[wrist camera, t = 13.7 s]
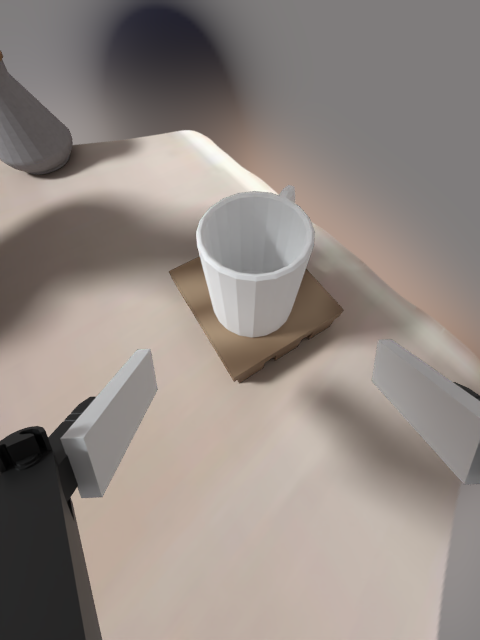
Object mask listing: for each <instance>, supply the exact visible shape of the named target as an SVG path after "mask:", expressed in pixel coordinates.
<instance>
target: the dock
mask: <svg viewBox="0 0 480 640" xmlns="http://www.w3.org/2000/svg"><path fill="white" fill-rule="evenodd" d="M169 273H170V275H171V277H172V279H173V281H174V283H175V284H176V286H177V288H178V289H179V291H180V293H181V294H182V296H183V298H184V299H185V301H186V303H187V304H188V306H189V308H190V309H191V311H192V313H193V314H194V316H195V318H196V319H197V321H198V323H199V324H200V326H201V327H202V329H203V331H204V332H205V334H206V336H207V337H208V339H209V341H210V342H211V344H212V346H213V347H214V349H215V351H216V352H217V354H218V356H219V357H220V359H221V361H222V362H223V364H224V366H225V367H226V369H227V371H228V372H229V374H230V376H231V377H232V379H233V381H234V382H235V381H236V380H238V382H239V383H240V382H242V381H244V380H245V379H247V378H248V377H250V376H251V375H253V374H255V373H256V372H258V371H259V370H261V369H263V368H264V363H265V362H267V361H268V360H270V359H271V358H274V360H277V359H279V358H280V357H282V356H283V355H285V354H287V353H288V352H290V351H291V350H293V349H294V348H296V347H298V345H299V343H300V341H301V340H302V339H304V338H305V337H307V338H308V340H309V339H310V338H312V337H314V336H315V335H317V334H318V333H320V332H322V331H323V330H325V329H326V328H328V327H329V326H330V325H331V324H332V322H333V321H334V320H335V319H336V318H337V317H339V316H340V314H341V313H342V312H343V309H342V307H341V306H340V305H339V304H338V303H337V302H336V301H335V300H334V299H333V298H332V297H331V295H330V294H329V293H328V292H327V291H326V290H325V289H324V288H323V287H322V286H321V284H320V283H319V282H318V281H317V280H316V279H315V278H314V277H313V276H312V275H311V274H310V272H309V271H308V270H307V269H306V270H305V273H304V276H303V278H302V281H301V284H300V287H299V290H298V293H297V296H296V299H295V302H294V305H293V307H292V310H291V313H290V315H289V317H288V319H287V321H286V322H285V323H284V324H283V325H282V326H281V327H280V328H279V329H278V330H276V331H274V332H272V333H270V334H268V335H266V336H260V337H246V336H239V335H237V334H235V333H233V332H231V331H229V330H227V329H226V328H225V327H224V326H223V325H222V324H221V323H220V322H219V320H218V318H217V316H216V315H215V313H214V310H213V306H212V302H211V298H210V294H209V290H208V286H207V282H206V278H205V275H204V271H203V267H202V263H201V259H200V256H199V257H197V258H195V259H193V260H191V261H189V262H187V263H185V264H183V265H181V266H179V267H177V268H175V269H173V270H171V271H169Z"/></svg>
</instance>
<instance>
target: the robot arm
mask: <svg viewBox="0 0 480 640" xmlns="http://www.w3.org/2000/svg"><path fill="white" fill-rule="evenodd" d="M372 382H373V383H374V384H375V385H376V386H377V388H378V389H379V390H380V391H381V392H382V393H383V394H384V395H385V397H386V398H387V399H388V400H389V401H390V402H391V403H392V404H393V405H394V407H395V408H396V409H397V410H398V411H399V412H400V413H401V414H402V416H403V417H404V418H405V419H406V420H407V421H408V422H409V423H410V424H411V426H412V427H413V428H414V429H415V430H416V431H417V432H418V433H419V435H420V436H421V437H422V438H423V439H424V440H425V441H426V442H427V444H428V445H429V446H430V447H431V448H432V449H433V450H434V451H435V452H436V454H437V455H438V456H439V457H440V458H441V459H442V460H443V461H444V463H445V464H446V465H447V466H448V467H449V468H450V469H451V470H452V471H453V473H454V474H455V475H456V476H457V477H458V478H459V479H460V480H461V482H462V483H463V484H480V396H479V395H478V394H476V393H475V392H473V391H472V390H470V389H469V388H467V387H464V386H462V385H460V384H458V383H456V382H452V381H450V380H449V379H448V378H446V377H445V376H443V375H442V374H440V373H439V372H438V371H436V370H435V369H433V368H432V367H430V366H429V365H428V364H426V363H425V362H423V361H422V360H420V359H419V358H418V357H416V356H415V355H413V354H412V353H410V352H409V351H408V350H406V349H405V348H403V347H402V346H400V345H399V344H398V343H396V342H395V341H393V340H392V339H385V340H378V344H377V350H376V356H375V363H374V369H373V376H372ZM157 390H158V388H157V383H156V377H155V371H154V366H153V360H152V354H151V349H137V350H136V352H135V353H134V354H133V355H132V356H131V357H130V359H129V360H128V361H127V362H126V363H125V364H124V365H123V367H122V368H121V369H120V370H119V371H118V372H117V374H116V375H115V376H114V377H113V378H112V379H111V381H110V382H109V383H108V384H107V385H106V386H105V388H104V389H103V390H102V391H101V392H100V393H99V394H98V396H97V397H89V398H88V399H86V400H85V401H83V402H82V403H80V404H79V405H78V406H77V407H76V408H75V409H74V410H73V411H72V412H71V414H70V415H69V416H68V417H67V418H66V419H65V421H64V422H62V423H61V424H60V425H59V427H58V428H57V429H56V430H55V431H54V432H53V433H52V434H51V435H50V436H49V437H47V434H46V431H45V430H44V428H43V427H39V426H34V427H28V428H25V429H21V430H19V431H17V432H14V433H12V434H10V435H9V436H7V437H6V438H4V439H3V440H1V441H0V640H102V637H101V632H100V628H99V623H98V618H97V614H96V609H95V604H94V600H93V595H92V591H91V586H90V581H89V577H88V572H87V568H86V563H85V558H84V554H83V549H82V545H81V540H80V535H79V531H78V526H77V521H76V517H75V512H74V508H73V503H72V501H71V498H70V497H71V496H72V494H73V492H74V491H75V489H76V488H77V487H78V490H79V493H80V495H81V498H94V497H103V495H104V493H105V491H106V489H107V487H108V485H109V483H110V481H111V479H112V477H113V475H114V473H115V471H116V470H117V468H118V466H119V464H120V462H121V460H122V458H123V456H124V454H125V452H126V450H127V448H128V446H129V444H130V442H131V440H132V438H133V436H134V435H135V433H136V431H137V429H138V427H139V425H140V423H141V421H142V419H143V417H144V415H145V413H146V411H147V409H148V407H149V405H150V403H151V401H152V400H153V398H154V396H155V394H156V392H157Z"/></svg>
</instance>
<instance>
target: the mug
mask: <svg viewBox="0 0 480 640" xmlns="http://www.w3.org/2000/svg"><path fill="white" fill-rule="evenodd" d="M314 233H315V231H314V228H313V226H312V223H311V220H310V218H309V217H308V216H307V214H306V213H305V212H304V211H303V210H302V209H301V207H300V206H298V205H296V204H295V190H294V187H293V186H290V185H288V186H287V187H285V188H284V189H283V190H282V191H281V193H280V194H279V195H276V194H273V193H268V192H257V191H252V192H244V193H237V194H234V195H232V196H229V197H226V198H223V199H222V200H220V201H219V202H217V203H216V204H214V205H213V206H212V207H210V208H209V209H208V210H207V212H206V213H205V214H204V215H203V217H202V218H201V219H200V222H199V225H198V228H197V231H196V238H197V247H198V251H199V255H200V259H201V263H202V267H203V271H204V275H205V278H206V282H207V286H208V290H209V294H210V298H211V302H212V306H213V310H214V313H215V315H216V316H217V318H218V320H219V322H220V323H221V324H222V325H223V326H224V327H225V328H226V329H227V330H229V331H231V332H233V333H235V334H237V335H239V336H246V337H260V336H266V335H268V334H270V333H272V332H274V331H276V330H278V329H279V328H280V327H281V326H282V325H283V324H284V323H285V322H286V321H287V319H288V317H289V315H290V313H291V310H292V307H293V305H294V302H295V299H296V296H297V293H298V290H299V287H300V284H301V281H302V278H303V276H304V273H305V270H306V267H307V264H308V261H309V258H310V255H311V252H312V249H313V247H314Z"/></svg>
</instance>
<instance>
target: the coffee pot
mask: <svg viewBox="0 0 480 640" xmlns="http://www.w3.org/2000/svg"><path fill="white" fill-rule="evenodd" d="M2 58H3V55H2V52H1V51H0V160H1V161H3V162H4V163H6V164H7V165H9V166H11V167H13V168H15V169H18V170H21V171H26V172H29V173H32V174H46V173H50V172H53V171H55V170H57V169H59V168H61V167H62V166H64V165H65V164H66V163H67V162H68V160H69V158H70V152H71V149H72V137H71V134H70V131H69V129H67V127H66V126H65V125H64V124H63V123H62V122H60V121H59V120H58V119H57V118H56V117H55V116H54V115H53V114H52V113H50V111H49V110H48V109H47V108H45V107H44V106H43V105H42V104H41V103H40V102H39V101H38V100H37V99H36V98H35V97H34V96H33V95H32V94H30V93H29V92H28V91H27V90H26V89H25V88H24V87H23V86H22V85H21V84H20V83H19V82H18V81H16V80H15V79H14V78H13V77H12V76H11V75H10V74H9V73H8V72H7V69H6V67H5V65H4V63H3V60H2Z"/></svg>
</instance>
